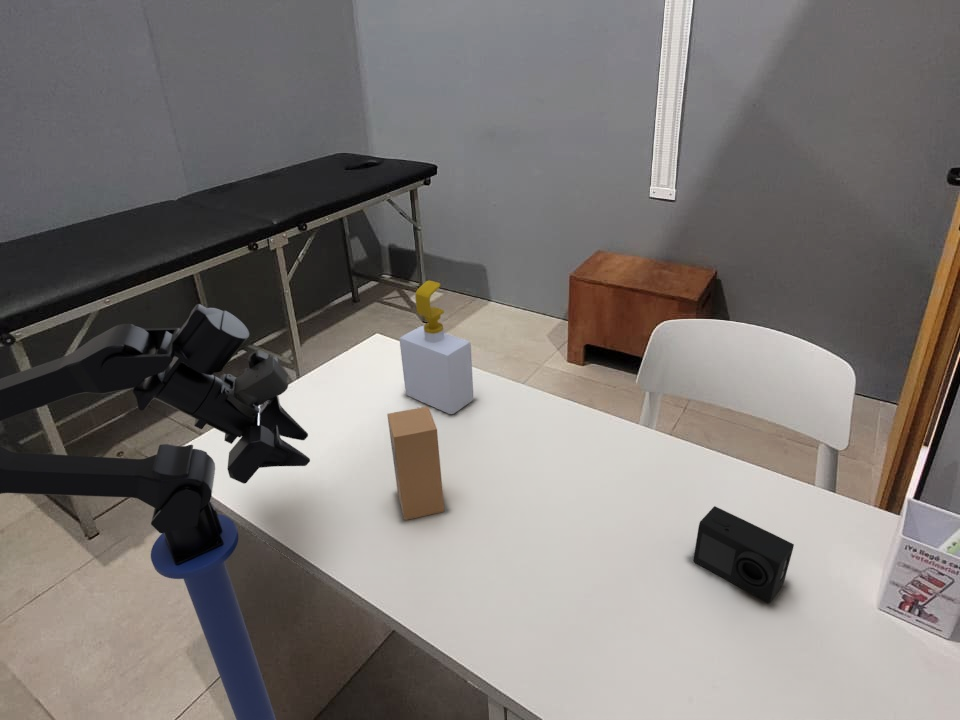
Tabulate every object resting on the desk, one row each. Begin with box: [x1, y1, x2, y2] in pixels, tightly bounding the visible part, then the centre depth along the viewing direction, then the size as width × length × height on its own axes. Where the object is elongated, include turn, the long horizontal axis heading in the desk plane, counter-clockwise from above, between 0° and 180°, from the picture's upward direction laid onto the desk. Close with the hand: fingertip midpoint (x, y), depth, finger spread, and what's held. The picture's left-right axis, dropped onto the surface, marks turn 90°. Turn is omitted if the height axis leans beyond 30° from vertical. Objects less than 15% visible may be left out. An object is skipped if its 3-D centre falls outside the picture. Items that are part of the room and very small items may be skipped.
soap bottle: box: [399, 279, 474, 415], centre depth 118 cm, size 12×7×23 cm, turn 51°
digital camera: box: [692, 505, 795, 604], centre depth 82 cm, size 10×5×7 cm, turn 46°
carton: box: [386, 405, 445, 521], centre depth 94 cm, size 6×6×15 cm
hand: (307, 449), depth 88 cm, fingers open, 6 cm apart
